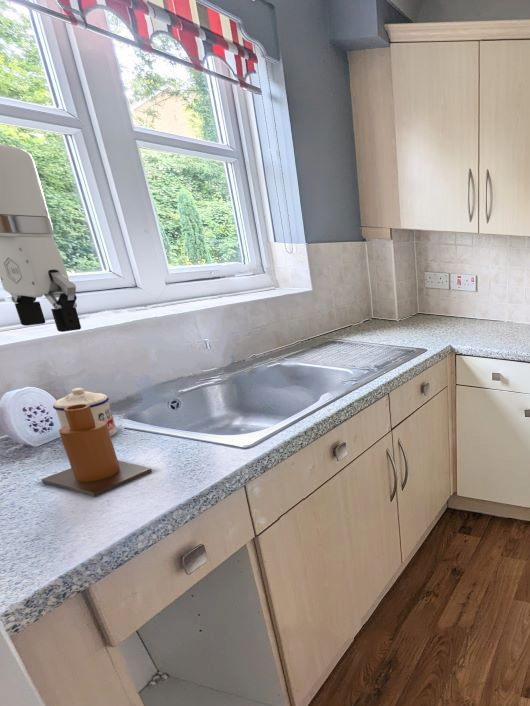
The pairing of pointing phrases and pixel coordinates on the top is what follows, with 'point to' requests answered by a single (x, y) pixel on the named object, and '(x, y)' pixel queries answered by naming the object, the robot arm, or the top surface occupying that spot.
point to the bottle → (88, 445)
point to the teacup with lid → (97, 406)
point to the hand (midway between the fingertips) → (51, 327)
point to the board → (98, 486)
